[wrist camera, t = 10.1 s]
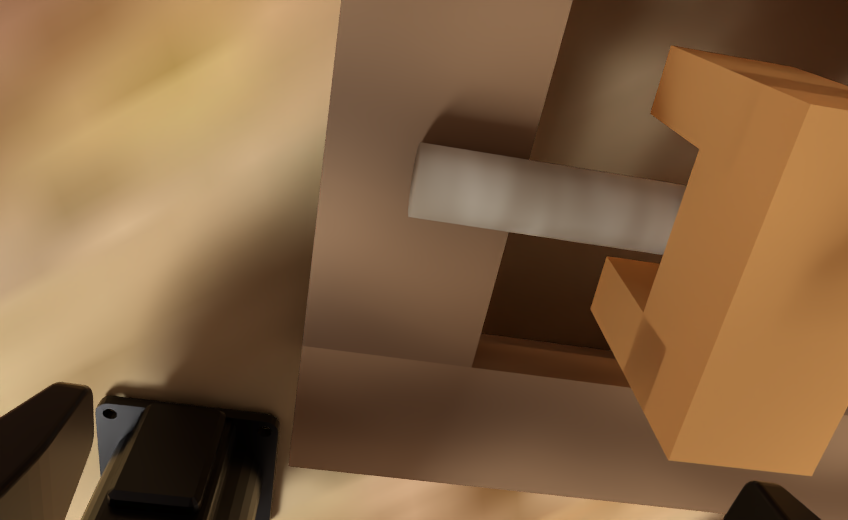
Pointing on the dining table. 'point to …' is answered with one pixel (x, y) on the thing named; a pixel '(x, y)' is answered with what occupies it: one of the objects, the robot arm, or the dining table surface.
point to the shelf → (476, 276)
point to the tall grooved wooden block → (743, 271)
